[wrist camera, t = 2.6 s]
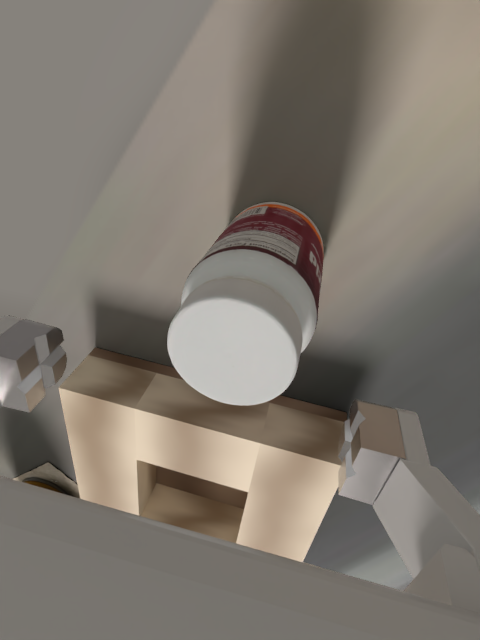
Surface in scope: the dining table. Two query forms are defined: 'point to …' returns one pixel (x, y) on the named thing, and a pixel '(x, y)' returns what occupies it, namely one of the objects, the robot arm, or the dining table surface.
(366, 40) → the dining table surface
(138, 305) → the dining table surface
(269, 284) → the pill bottle
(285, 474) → the well block
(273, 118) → the dining table surface
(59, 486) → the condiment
